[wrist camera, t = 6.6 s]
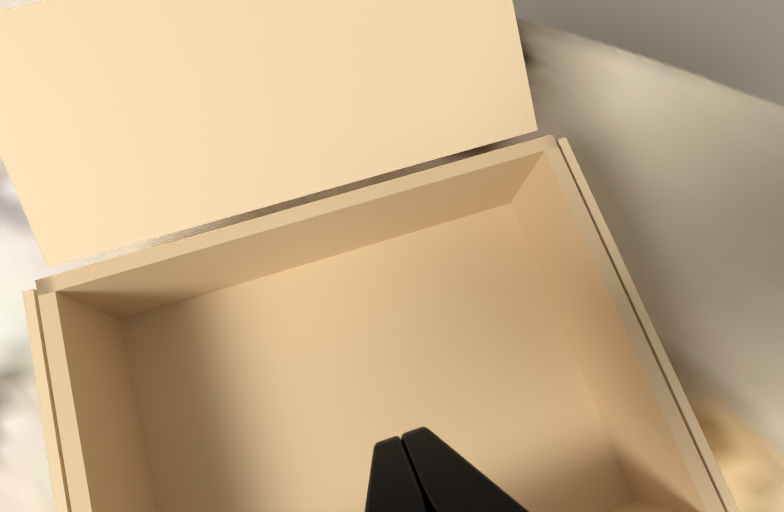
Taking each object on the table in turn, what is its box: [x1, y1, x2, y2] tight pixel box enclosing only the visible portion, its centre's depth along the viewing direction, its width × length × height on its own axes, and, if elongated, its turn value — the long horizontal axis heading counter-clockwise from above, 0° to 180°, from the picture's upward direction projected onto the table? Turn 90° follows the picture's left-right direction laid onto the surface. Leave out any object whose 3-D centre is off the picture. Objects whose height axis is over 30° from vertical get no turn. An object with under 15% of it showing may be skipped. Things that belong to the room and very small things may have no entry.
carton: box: [23, 134, 739, 512], centre depth 19 cm, size 13×18×5 cm
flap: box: [0, 0, 538, 268], centre depth 17 cm, size 1×16×7 cm
